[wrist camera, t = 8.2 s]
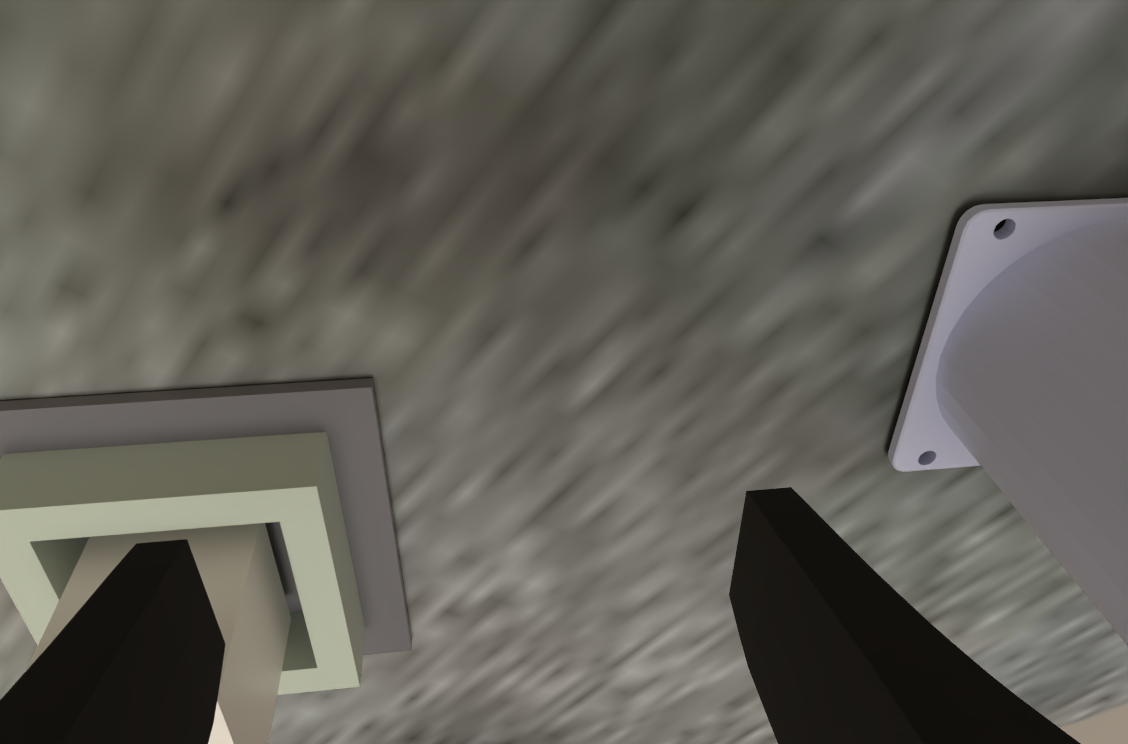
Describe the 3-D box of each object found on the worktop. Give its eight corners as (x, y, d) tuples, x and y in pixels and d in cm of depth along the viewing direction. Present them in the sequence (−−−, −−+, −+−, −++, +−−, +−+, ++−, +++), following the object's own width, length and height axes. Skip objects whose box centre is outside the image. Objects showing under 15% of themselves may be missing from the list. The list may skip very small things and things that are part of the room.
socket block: (372, 377, 20) (365, 439, 18) (412, 639, 26) (409, 708, 24) (-67, 405, 19) (-125, 474, 17) (75, 671, 25) (43, 746, 23)
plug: (267, 492, 21) (216, 698, 16) (295, 596, 24) (257, 804, 19) (104, 505, 21) (1, 720, 16) (148, 609, 23) (70, 826, 18)
